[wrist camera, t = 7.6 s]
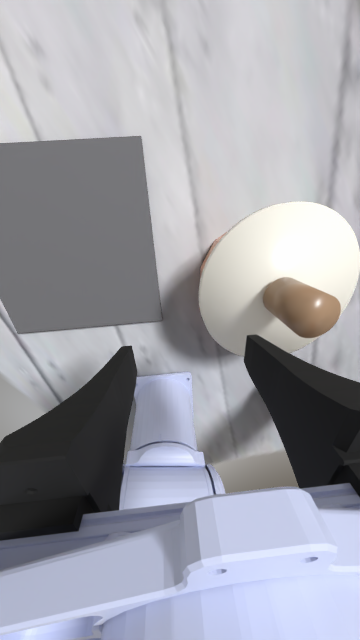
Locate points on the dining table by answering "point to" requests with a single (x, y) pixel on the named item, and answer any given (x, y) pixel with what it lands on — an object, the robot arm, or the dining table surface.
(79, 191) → the mat
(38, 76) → the dining table surface
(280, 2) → the dining table surface
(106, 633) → the robot arm
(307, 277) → the lid
